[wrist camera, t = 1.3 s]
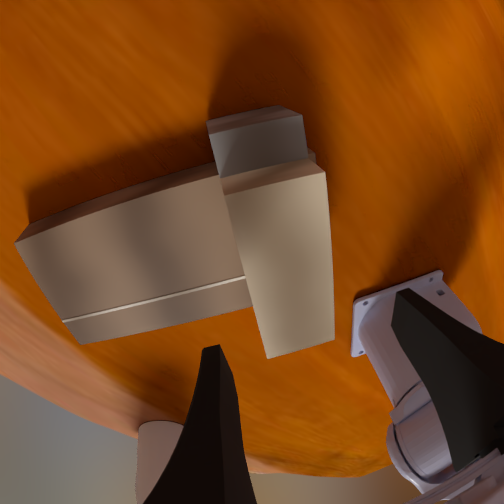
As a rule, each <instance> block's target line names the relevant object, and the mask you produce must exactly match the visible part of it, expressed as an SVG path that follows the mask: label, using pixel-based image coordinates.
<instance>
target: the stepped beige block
mask: <svg viewBox="0 0 504 504" xmlns="http://www.w3.org/2000/svg"><path fill="white" fill-rule="evenodd" d="M206 125H207V129H208V133H209V138H210V142H211V146H212V149H213V153H214V157H215V161H216V165H217V169H218V173H219V177H220V181H221V185H222V189H223V193H224V197H225V201H226V205H227V209H228V213H229V217H230V221H231V224H232V228H233V232H234V236H235V240H236V243H237V247H238V251H239V255H240V259H241V262H242V266H243V270H244V274H245V278H246V281H247V285H248V289H249V293H250V296H251V300H252V304H253V307H254V311H255V315H256V319H257V322H258V326H259V330H260V333H261V337H262V341H263V344H264V348H265V352H266V355H267V359H269V358H273V357H276V356H280V355H284V354H287V353H291V352H294V351H298V350H301V349H305V348H308V347H311V346H315V345H318V344H321V343H324V342H328V341H331V340H334V339H335V335H334V290H333V266H332V248H331V232H330V219H329V206H328V195H327V184H326V174H325V171H323V170H322V169H321V168H320V167H319V166H318V165H316V164H315V163H314V162H313V161H311V160H310V159H309V158H308V151H307V144H306V137H305V130H304V123H303V117H302V115H301V114H299V113H297V112H294V111H292V110H289V109H287V108H285V107H282V106H280V105H276V106H271V107H266V108H261V109H256V110H251V111H246V112H242V113H237V114H233V115H228V116H224V117H220V118H216V119H212V120H208V121H206Z"/></svg>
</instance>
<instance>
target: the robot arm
mask: <svg viewBox="0 0 504 504" xmlns="http://www.w3.org/2000/svg"><path fill="white" fill-rule="evenodd" d="M442 277H443V272H442V271H441V270H437V271H435V272H432V273H429V274H427V275H424V276H421V277H418V278H416V279H413V280H410V281H408V282H405V283H402V284H399V285H396V286H393V287H391V288H388V289H385V290H382V291H379V292H376V293H373V294H370V295H367V296H364V297H361V298H358V299H356V300H355V301H354V304H353V323H352V341H351V355H352V357H357V356H360V355H362V354H365V353H366V354H367V356H368V358H369V360H370V362H371V363H372V365H373V367H374V369H375V371H376V373H377V375H378V377H379V379H380V381H381V383H382V385H383V387H384V389H385V391H386V393H387V395H388V397H389V399H390V401H391V403H392V405H393V407H394V409H393V410H392V411H391V412H390V413H389V414H390V416H391V419H392V421H393V422H392V423H391V424H390V425H389V427H388V430H387V437H386V444H387V449H388V452H389V455H390V457H391V460H392V462H393V464H394V465H395V467H396V468H397V470H398V471H399V472H400V474H401V475H402V476H403V477H405V478H406V479H407V480H409V481H411V482H412V483H413V484H414V485H415V486H416V487H417V488H418V489H419V491H420V492H421V493H422V495H420V496H418V497H416V498H414V499H412V500H410V501H408V502H405V503H403V504H434V503H436V502H438V501H440V500H449V501H447V502H445V503H444V504H504V344H502V343H500V342H497V341H495V340H493V339H491V338H489V337H487V336H485V335H483V334H482V331H481V328H480V326H479V324H478V322H477V320H476V319H475V317H474V316H473V315H472V314H471V312H470V311H469V310H468V309H467V308H466V306H465V305H464V304H463V303H462V302H461V301H460V299H459V298H458V297H457V296H456V295H455V294H454V293H453V291H452V290H451V289H450V288H449V287H448V286H447V285H446V284H445V283H444V281H443V280H442ZM143 504H257V502H256V499H255V495H254V491H253V487H252V483H251V480H250V476H249V472H248V467H247V463H246V459H245V454H244V448H243V441H242V432H241V423H240V414H239V405H238V396H237V392H236V387H235V382H234V378H233V374H232V371H231V369H230V367H229V365H228V362H227V360H226V358H225V356H224V353H223V351H222V349H221V346H220V344H219V345H215V346H210V347H206V348H204V349H203V350H202V356H201V362H200V368H199V373H198V378H197V383H196V387H195V391H194V395H193V399H192V402H191V405H190V409H189V412H188V415H187V418H186V421H185V424H184V427H183V430H182V432H181V435H180V437H179V440H178V442H177V444H176V447H175V449H174V451H173V453H172V455H171V457H170V459H169V461H168V463H167V465H166V467H165V469H164V471H163V473H162V474H161V476H160V478H159V479H158V481H157V483H156V485H155V486H154V488H153V489H152V491H151V492H150V494H149V495H148V497H147V498H146V500H145V501H144V502H143Z"/></svg>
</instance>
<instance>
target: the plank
mask: <svg viewBox="0 0 504 504" xmlns="http://www.w3.org/2000/svg"><path fill="white" fill-rule="evenodd" d="M307 151H308V158H309V159H310V160H311V161H313V162H314V163H315V164H316V157H315V153H314V152H313V151H312V150H310V149H309V148H308V147H307ZM14 245H15V246H16V248H17V250H18V252H19V254H20V255H21V257H22V259H23V261H24V262H25V264H26V266H27V267H28V269H29V271H30V272H31V274H32V276H33V277H34V279H35V281H36V282H37V284H38V285H39V287H40V289H41V290H42V292H43V293H44V295H45V296H46V298H47V299H48V301H49V302H50V304H51V305H52V307H53V308H54V310H55V311H56V312H57V314H58V315H59V317H60V318H61V320H62V322H63V323H64V324H65V325H66V326H67V328H68V329H69V330H70V332H71V333H72V334H73V336H74V337H75V338H76V340H77V341H78V342H79V344H80V345H82V344H87V343H93V342H98V341H103V340H108V339H113V338H118V337H123V336H128V335H132V334H137V333H142V332H146V331H151V330H156V329H160V328H165V327H169V326H173V325H178V324H182V323H186V322H191V321H195V320H199V319H203V318H207V317H212V316H216V315H220V314H224V313H228V312H232V311H236V310H239V309H243V308H247V307H251V306H253V304H252V300H251V296H250V293H249V289H248V285H247V281H246V278H245V274H244V270H243V266H242V262H241V259H240V255H239V251H238V247H237V243H236V240H235V236H234V232H233V228H232V224H231V221H230V217H229V213H228V209H227V205H226V201H225V197H224V193H223V189H222V185H221V181H220V177H219V173H218V169H217V165H216V161H215V162H212V163H208V164H204V165H200V166H197V167H193V168H189V169H186V170H182V171H179V172H175V173H172V174H169V175H165V176H162V177H159V178H155V179H152V180H149V181H146V182H143V183H139V184H136V185H133V186H130V187H127V188H124V189H121V190H118V191H115V192H112V193H109V194H107V195H104V196H101V197H98V198H95V199H93V200H90V201H87V202H84V203H82V204H79V205H76V206H74V207H71V208H68V209H66V210H63V211H61V212H58V213H56V214H53V215H51V216H48V217H46V218H43V219H41V220H39V221H36V222H34V223H31V224H29V225H28V226H27V228H26V229H25V230H24V231H23V232H22V234H21V235H20V236H19V238H18V239H17V240H16V241H15V243H14Z"/></svg>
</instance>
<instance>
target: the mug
mask: <svg viewBox="0 0 504 504" xmlns="http://www.w3.org/2000/svg"><path fill="white" fill-rule="evenodd" d="M183 427H184V426H183V425H181V424H178V423H175V422H170V421H151V422H146V423H144V424H142V425H141V426H140V427H139V430H138V449H137V473H136V483H135V487H136V488H135V489H136V490H135V491H136V499H137V504H143V502H144V501H145V500H146V498H147V497H148V495H149V494H150V492H151V491H152V489H153V488H154V486H155V485H156V483H157V481H158V479H159V478H160V476H161V474H162V473H163V471H164V469H165V467H166V465H167V463H168V461H169V459H170V457H171V455H172V453H173V451H174V449H175V447H176V444H177V442H178V440H179V437H180V435H181V432H182V430H183Z"/></svg>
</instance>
